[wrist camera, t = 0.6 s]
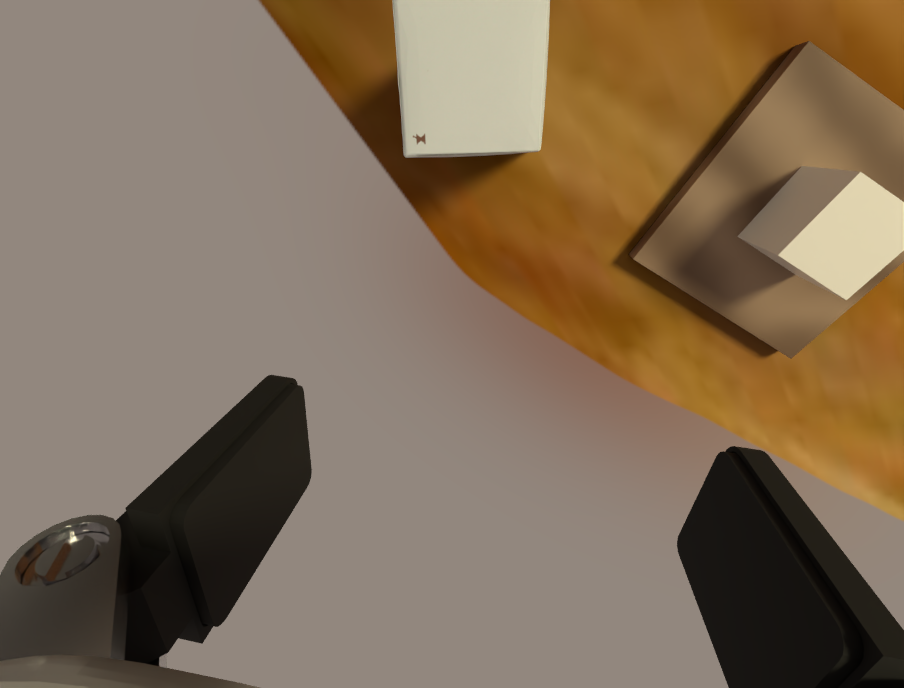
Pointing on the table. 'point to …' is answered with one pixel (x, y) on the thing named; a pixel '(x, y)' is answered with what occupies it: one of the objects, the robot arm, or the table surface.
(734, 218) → the tan square base plate
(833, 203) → the cream cube
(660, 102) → the table surface
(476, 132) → the supplement box
